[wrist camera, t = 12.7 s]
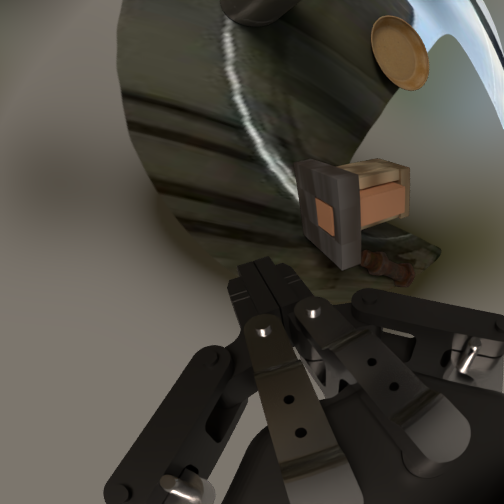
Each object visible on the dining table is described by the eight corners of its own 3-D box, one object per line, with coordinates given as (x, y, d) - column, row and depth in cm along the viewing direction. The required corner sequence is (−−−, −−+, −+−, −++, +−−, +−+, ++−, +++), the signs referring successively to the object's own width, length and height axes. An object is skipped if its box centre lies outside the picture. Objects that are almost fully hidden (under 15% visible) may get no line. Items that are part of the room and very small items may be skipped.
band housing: (303, 234, 45) (342, 270, 34) (293, 162, 39) (336, 179, 28) (379, 211, 47) (424, 236, 36) (376, 147, 41) (428, 160, 31)
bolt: (354, 245, 51) (397, 265, 57) (349, 270, 50) (393, 286, 56) (376, 242, 46) (417, 264, 51) (372, 270, 45) (414, 287, 51)
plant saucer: (367, 86, 36) (377, 85, 34) (356, 10, 29) (365, 6, 27) (422, 95, 39) (432, 95, 36) (414, 28, 32) (423, 27, 29)
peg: (318, 225, 38) (332, 236, 34) (315, 198, 36) (330, 207, 32) (387, 204, 39) (404, 212, 36) (387, 179, 37) (405, 186, 34)
